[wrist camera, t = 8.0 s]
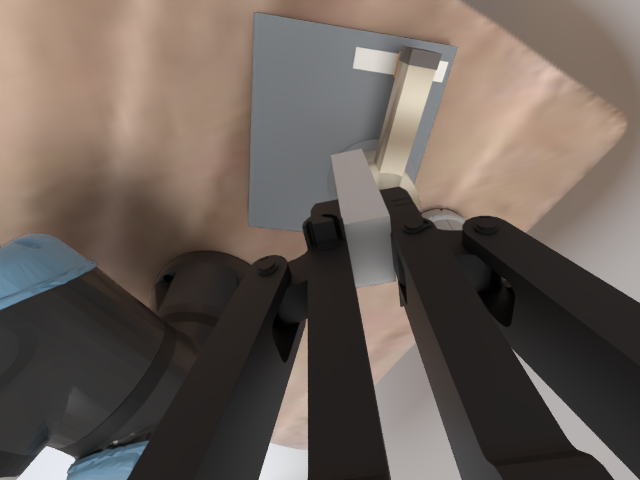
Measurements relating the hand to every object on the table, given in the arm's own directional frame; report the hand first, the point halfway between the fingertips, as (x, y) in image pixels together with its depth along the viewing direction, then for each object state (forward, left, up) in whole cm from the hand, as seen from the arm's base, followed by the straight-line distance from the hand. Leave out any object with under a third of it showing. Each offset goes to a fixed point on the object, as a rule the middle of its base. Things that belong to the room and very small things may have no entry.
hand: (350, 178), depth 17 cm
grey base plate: (-4, -1, -19) cm, 19 cm away
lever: (-2, -5, -16) cm, 17 cm away
